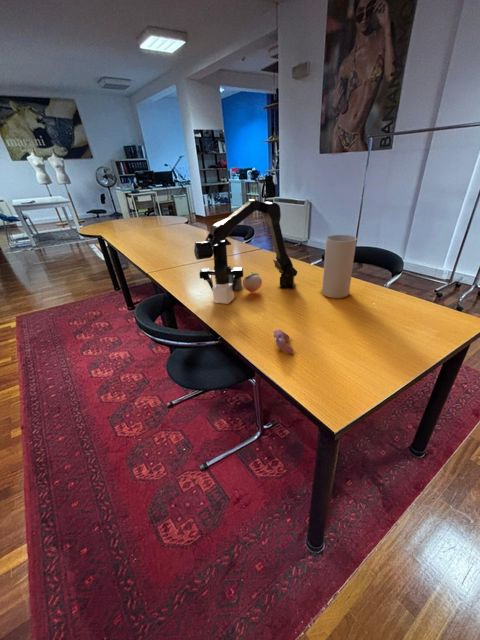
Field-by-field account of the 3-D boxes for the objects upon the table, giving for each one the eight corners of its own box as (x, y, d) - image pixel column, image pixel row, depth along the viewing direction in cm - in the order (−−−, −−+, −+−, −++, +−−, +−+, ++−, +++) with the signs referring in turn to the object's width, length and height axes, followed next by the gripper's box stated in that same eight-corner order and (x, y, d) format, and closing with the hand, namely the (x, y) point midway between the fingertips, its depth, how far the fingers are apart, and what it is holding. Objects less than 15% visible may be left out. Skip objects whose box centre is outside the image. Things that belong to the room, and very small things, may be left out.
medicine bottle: (234, 298, 137) (232, 273, 131) (228, 304, 132) (225, 278, 125) (220, 296, 140) (218, 271, 133) (213, 302, 134) (210, 276, 127)
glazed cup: (244, 286, 150) (242, 268, 145) (238, 291, 144) (237, 273, 139) (230, 285, 152) (229, 267, 147) (225, 290, 146) (223, 272, 141)
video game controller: (278, 343, 105) (269, 328, 102) (290, 337, 105) (281, 322, 101) (282, 359, 97) (273, 343, 94) (295, 353, 96) (285, 337, 93)
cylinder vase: (316, 294, 138) (320, 238, 125) (330, 286, 146) (336, 233, 132) (340, 301, 131) (347, 242, 118) (353, 292, 139) (362, 237, 125)
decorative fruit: (253, 297, 137) (253, 276, 132) (240, 293, 142) (239, 273, 136) (266, 291, 144) (265, 271, 138) (252, 287, 148) (251, 268, 142)
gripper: (195, 262, 118) (200, 299, 126) (242, 261, 119) (244, 297, 127) (198, 255, 127) (203, 289, 135) (242, 253, 128) (243, 288, 136)
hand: (223, 291), depth 133 cm, fingers closed on medicine bottle, 9 cm apart
